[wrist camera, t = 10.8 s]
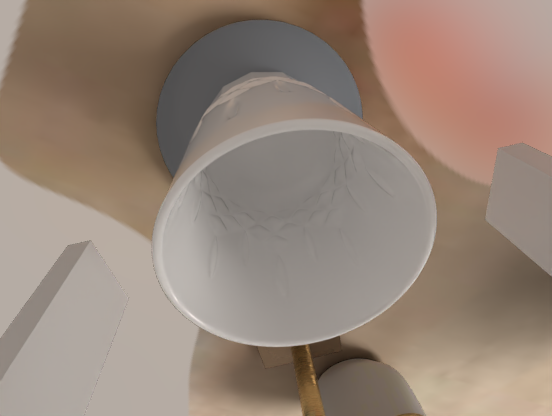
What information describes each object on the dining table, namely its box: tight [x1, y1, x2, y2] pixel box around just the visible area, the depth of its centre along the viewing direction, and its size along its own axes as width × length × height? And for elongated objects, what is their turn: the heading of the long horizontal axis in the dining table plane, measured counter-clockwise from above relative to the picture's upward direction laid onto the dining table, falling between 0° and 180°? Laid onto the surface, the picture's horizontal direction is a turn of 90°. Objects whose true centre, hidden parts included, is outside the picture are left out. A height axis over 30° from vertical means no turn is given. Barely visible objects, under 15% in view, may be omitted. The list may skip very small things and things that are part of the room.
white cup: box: [152, 72, 437, 347], centre depth 13 cm, size 8×8×10 cm
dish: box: [156, 20, 363, 178], centre depth 18 cm, size 11×11×1 cm
